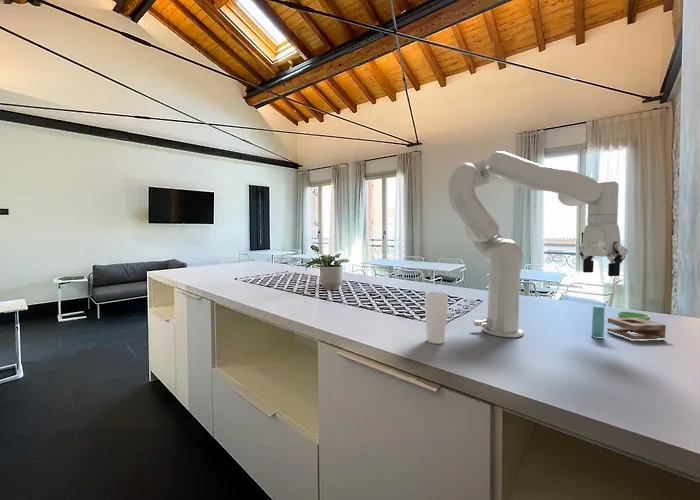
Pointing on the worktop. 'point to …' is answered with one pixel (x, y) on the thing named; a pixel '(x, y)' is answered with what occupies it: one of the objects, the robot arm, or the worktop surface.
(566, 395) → the worktop surface
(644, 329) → the block
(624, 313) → the ramekin
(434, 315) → the drinking glass
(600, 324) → the peg
